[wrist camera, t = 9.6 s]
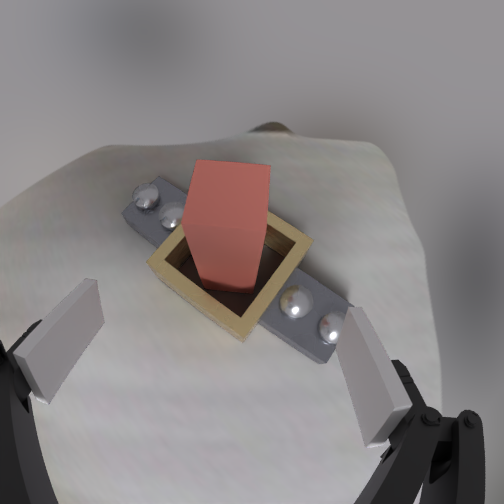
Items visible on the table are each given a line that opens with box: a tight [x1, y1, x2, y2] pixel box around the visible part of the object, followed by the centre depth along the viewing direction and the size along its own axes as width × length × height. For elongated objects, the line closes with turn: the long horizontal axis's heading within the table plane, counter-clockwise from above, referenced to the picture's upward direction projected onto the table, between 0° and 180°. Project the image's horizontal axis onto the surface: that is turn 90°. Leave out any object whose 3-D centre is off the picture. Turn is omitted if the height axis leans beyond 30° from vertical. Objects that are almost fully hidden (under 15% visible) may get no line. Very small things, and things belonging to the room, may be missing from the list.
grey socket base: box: [121, 176, 355, 364], centre depth 22 cm, size 21×9×4 cm, turn 54°
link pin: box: [181, 160, 271, 294], centre depth 19 cm, size 4×4×11 cm
